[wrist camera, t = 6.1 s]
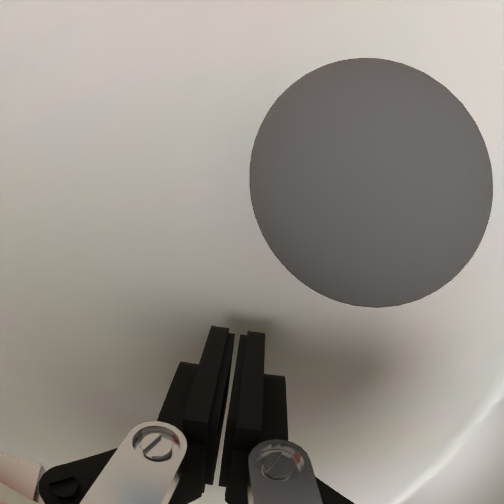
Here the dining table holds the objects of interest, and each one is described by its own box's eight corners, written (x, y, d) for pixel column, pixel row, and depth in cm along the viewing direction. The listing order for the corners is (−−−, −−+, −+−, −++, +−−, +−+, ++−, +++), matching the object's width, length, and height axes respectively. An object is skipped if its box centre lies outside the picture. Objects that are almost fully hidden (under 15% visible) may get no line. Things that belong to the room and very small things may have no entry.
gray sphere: (461, -13, 2) (267, 29, 7) (302, 366, 3) (178, 217, 8) (535, 163, 5) (389, 124, 10) (450, 356, 7) (325, 264, 11)
